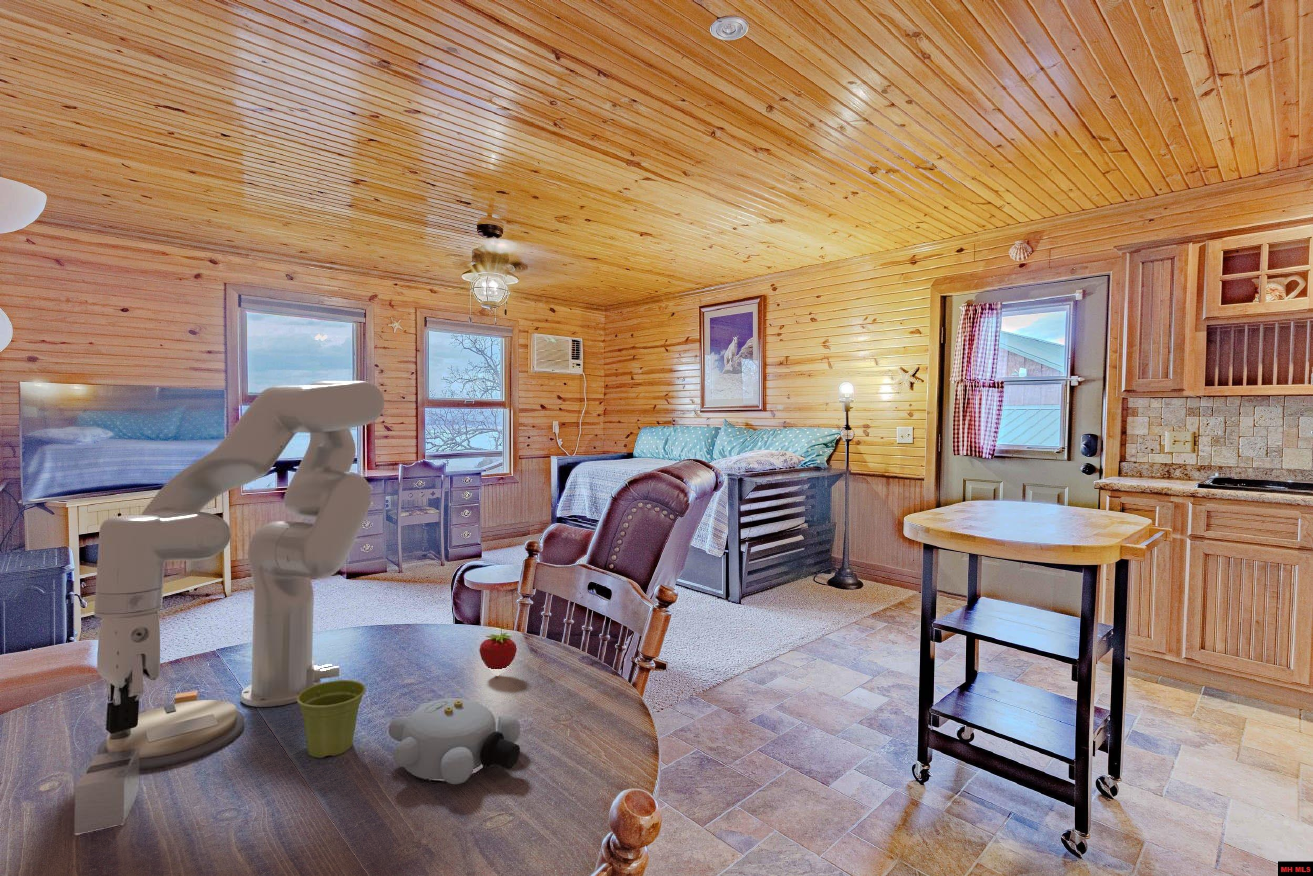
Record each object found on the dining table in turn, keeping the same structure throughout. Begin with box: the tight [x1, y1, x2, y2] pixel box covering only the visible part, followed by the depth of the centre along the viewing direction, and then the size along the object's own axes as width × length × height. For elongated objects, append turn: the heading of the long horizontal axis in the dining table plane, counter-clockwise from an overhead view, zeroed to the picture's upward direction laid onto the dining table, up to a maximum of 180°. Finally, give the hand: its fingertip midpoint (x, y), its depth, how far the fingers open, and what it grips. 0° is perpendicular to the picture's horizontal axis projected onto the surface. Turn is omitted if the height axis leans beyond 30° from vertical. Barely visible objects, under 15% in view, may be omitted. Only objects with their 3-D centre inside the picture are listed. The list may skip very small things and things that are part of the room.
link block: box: [73, 747, 140, 834], centre depth 78 cm, size 4×8×6 cm, turn 30°
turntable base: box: [96, 690, 245, 771], centre depth 97 cm, size 18×20×3 cm
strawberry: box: [478, 625, 517, 669], centre depth 124 cm, size 6×8×10 cm
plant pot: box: [296, 679, 367, 759], centre depth 94 cm, size 9×9×9 cm
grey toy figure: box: [388, 697, 521, 785], centre depth 91 cm, size 17×8×20 cm
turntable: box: [106, 699, 238, 758], centre depth 96 cm, size 16×16×6 cm
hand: (121, 728), depth 89 cm, fingers closed
